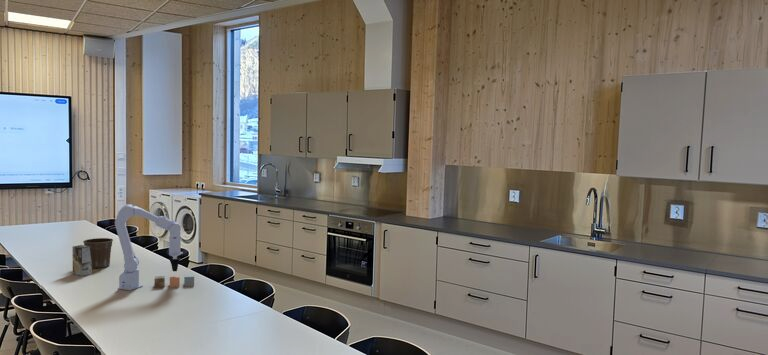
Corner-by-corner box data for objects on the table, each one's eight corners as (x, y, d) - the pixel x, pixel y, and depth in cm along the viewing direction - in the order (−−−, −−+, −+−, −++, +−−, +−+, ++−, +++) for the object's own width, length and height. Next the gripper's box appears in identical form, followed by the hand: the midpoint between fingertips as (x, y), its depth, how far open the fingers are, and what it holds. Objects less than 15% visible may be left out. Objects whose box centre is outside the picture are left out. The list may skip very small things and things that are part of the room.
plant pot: (76, 268, 330) (76, 241, 329) (96, 262, 345) (96, 237, 344) (99, 270, 326) (99, 243, 325) (118, 264, 342) (119, 239, 341)
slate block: (184, 286, 299) (184, 277, 299) (184, 283, 304) (184, 274, 303) (194, 285, 301) (194, 276, 300) (193, 283, 305) (193, 274, 305)
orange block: (169, 287, 296) (169, 277, 296) (169, 284, 301) (169, 275, 301) (179, 286, 298) (179, 277, 298) (179, 284, 303) (179, 275, 302)
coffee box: (92, 274, 317) (92, 246, 316) (81, 276, 312) (81, 248, 310) (82, 271, 321) (82, 244, 320) (71, 273, 316) (71, 246, 315)
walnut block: (154, 287, 294) (154, 278, 293) (154, 285, 298) (154, 276, 298) (164, 287, 295) (164, 278, 295) (164, 284, 300) (164, 275, 300)
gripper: (183, 247, 293) (182, 272, 294) (182, 242, 306) (182, 266, 307) (168, 247, 290) (168, 272, 291) (168, 242, 304) (168, 266, 304)
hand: (174, 269), depth 299 cm, fingers open, 7 cm apart
